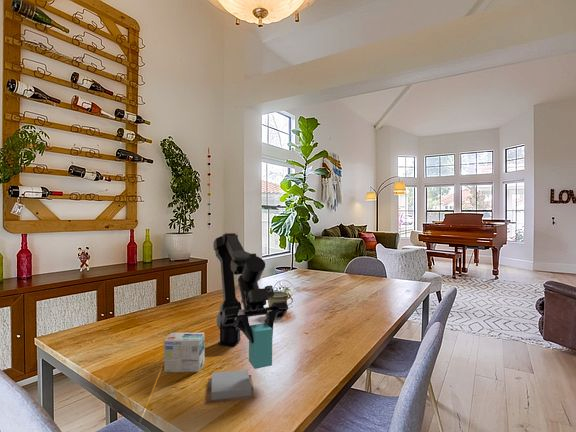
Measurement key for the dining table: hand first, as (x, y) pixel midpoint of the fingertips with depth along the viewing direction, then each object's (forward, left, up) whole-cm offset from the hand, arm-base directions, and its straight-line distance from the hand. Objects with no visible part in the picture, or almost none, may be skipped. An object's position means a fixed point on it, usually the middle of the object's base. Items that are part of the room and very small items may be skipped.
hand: (262, 341), depth 89 cm
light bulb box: (-26, +5, -14) cm, 30 cm away
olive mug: (-10, +62, -14) cm, 64 cm away
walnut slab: (-8, -3, -14) cm, 17 cm away
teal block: (-1, +1, -7) cm, 7 cm away
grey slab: (-8, -3, -12) cm, 15 cm away
